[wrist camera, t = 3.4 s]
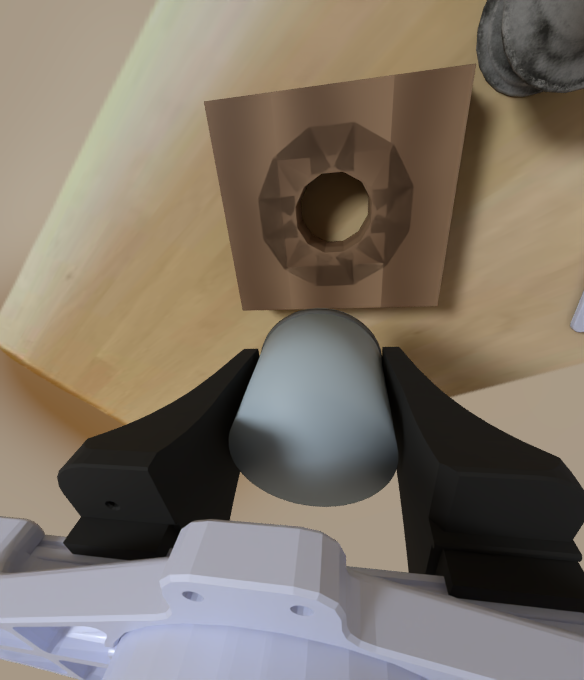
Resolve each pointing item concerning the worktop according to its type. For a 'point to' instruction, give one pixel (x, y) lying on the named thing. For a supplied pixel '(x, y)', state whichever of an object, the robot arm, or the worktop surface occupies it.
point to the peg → (317, 413)
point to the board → (357, 161)
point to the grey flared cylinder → (532, 46)
